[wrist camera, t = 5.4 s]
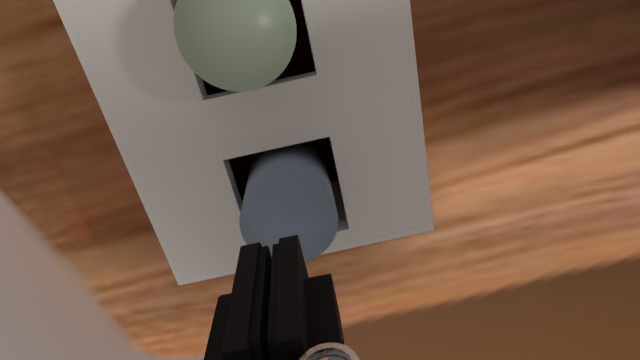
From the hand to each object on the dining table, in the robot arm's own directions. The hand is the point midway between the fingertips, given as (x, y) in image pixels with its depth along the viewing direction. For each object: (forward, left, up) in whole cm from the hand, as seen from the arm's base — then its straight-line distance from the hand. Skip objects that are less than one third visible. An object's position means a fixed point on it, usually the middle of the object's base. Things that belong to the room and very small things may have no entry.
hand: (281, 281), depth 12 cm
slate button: (0, +1, -10) cm, 10 cm away
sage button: (0, -7, -10) cm, 12 cm away
